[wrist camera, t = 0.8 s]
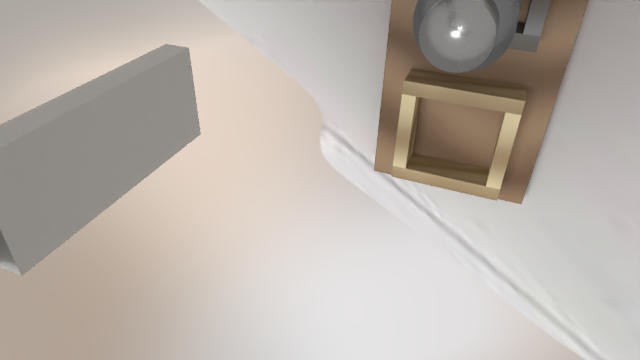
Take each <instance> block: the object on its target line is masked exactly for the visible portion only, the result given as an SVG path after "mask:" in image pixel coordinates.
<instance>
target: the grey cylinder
mask: <svg viewBox="0 0 640 360" xmlns="http://www.w3.org/2000/svg"><path fill="white" fill-rule="evenodd" d="M521 2H522V0H418V2H417V4H416V7H415V10H414V15H413V32H414V37H415V40H416V43H417V45H418V47H419V49H420V50H421V52H422V53H423V54H424V56H425V57H426V59H427V60H428V61H429V62H430V63H431V64H432V65H434V66H435V67H436V68H438V69H440V70H443V71H446V72H452V73H460V72H470V71H475V70H479V69H482V68H484V67H486V66H488V65H490V64H492V63H493V62H495V61H496V60H497V59H498V58H500V57H501V56H502V55H503V54H504V52H505V51H506V50H507V49H508V47H509V46H510V44H511V42H512V40H513V38H514V35H515V32H516V28H517V23H518V18H519V12H520V7H521Z"/></svg>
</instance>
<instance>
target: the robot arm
mask: <svg viewBox="0 0 640 360" xmlns="http://www.w3.org/2000/svg"><path fill="white" fill-rule="evenodd" d="M199 135H200V127H199V119H198V112H197V104H196V97H195V90H194V83H193V75H192V68H191V60H190V53H189V48H186V47H180V46H174V45H168V44H166V45H164V46H161V47H159V48H157V49H155V50H153V51H151V52H149V53H147V54H145V55H143V56H141V57H139V58H137V59H135V60H133V61H130V62H129V63H126V64H124V65H122V66H120V67H118V68H116V69H114V70H112V71H110V72H108V73H106V74H104V75H102V76H100V77H98V78H96V79H93V80H92V81H90V82H87V83H86V84H83V85H81V86H79V87H77V88H75V89H73V90H71V91H69V92H67V93H65V94H63V95H61V96H59V97H57V98H55V99H52V100H50V101H49V102H46V103H44V104H42V105H40V106H38V107H36V108H34V109H32V110H30V111H28V112H26V113H24V114H22V115H20V116H18V117H16V118H13V119H12V120H9V121H8V122H5V123H3V124H1V125H0V268H2V269H5V270H8V271H10V272H13V273H15V274H18V275H21V276H22V275H23V274H25V273H26V272H27V271H29V270H30V269H31V268H32V267H33V266H35V265H36V264H37V263H39V262H40V261H41V260H42V259H44V258H45V257H46V256H47V255H49V254H50V253H51V252H52V251H53V250H55V249H56V248H57V247H59V246H60V245H61V244H63V243H64V242H65V241H66V240H68V239H69V238H70V237H71V236H73V235H74V234H75V233H76V232H78V231H79V230H80V229H81V228H83V227H84V226H85V225H87V224H88V223H89V222H90V221H92V220H93V219H94V218H95V217H97V216H98V215H99V214H100V213H102V212H103V211H104V210H105V209H107V208H108V207H109V206H110V205H112V204H113V203H114V202H115V201H117V200H118V199H119V198H121V197H122V196H123V195H124V194H126V193H127V192H128V191H129V190H131V189H132V188H133V187H134V186H136V185H137V184H138V183H139V182H141V181H142V180H143V179H144V178H146V177H147V176H148V175H149V174H151V173H152V172H153V171H154V170H156V169H157V168H158V167H159V166H161V165H162V164H163V163H165V162H166V161H167V160H168V159H170V158H171V157H172V156H173V155H175V154H176V153H177V152H179V151H180V150H181V149H182V148H184V147H185V146H186V145H187V144H189V143H190V142H191V141H192V140H194V139H195V138H196V137H197V136H199Z"/></svg>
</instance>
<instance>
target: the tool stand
mask: <svg viewBox="0 0 640 360" xmlns="http://www.w3.org/2000/svg"><path fill="white" fill-rule="evenodd" d="M417 2H418V0H392V5H391V14H390V24H389V33H388V43H387V52H386V62H385V71H384V81H383V91H382V100H381V110H380V119H379V129H378V138H377V148H376V157H375V167H374V171H378V172H383V173H387V174H391V176H392V177H397V178H401V179H405V180H410V181H414V182H418V183H423V184H427V185H431V186H436V187H440V188H444V189H449V190H453V191H457V192H462V193H466V194H471V195H475V196H479V197H484V198H488V199H492V200H497V199H501V200H505V201H509V202H514V203H518V204H522V201H523V198H524V195H525V192H526V189H527V186H528V183H529V180H530V177H531V174H532V171H533V168H534V164H535V161H536V158H537V155H538V152H539V149H540V146H541V143H542V140H543V137H544V134H545V131H546V128H547V125H548V122H549V119H550V116H551V113H552V109H553V106H554V103H555V100H556V97H557V94H558V91H559V88H560V85H561V82H562V79H563V76H564V73H565V70H566V67H567V64H568V61H569V58H570V55H571V51H572V48H573V45H574V42H575V39H576V36H577V33H578V30H579V27H580V24H581V21H582V18H583V15H584V12H585V9H586V6H587V3H588V0H522V2H521V7H520V12H519V18H518V23H517V28H516V32H515V35H514V38H513V40H512V42H511V44H510V46H509V47H508V49H507V50H506V51H505V52H504V54H503V55H502V56H501V57H500V58H498V59H497V60H496V61H495V62H493V63H492V64H490V65H488V66H486V67H484V68H482V69H479V70H475V71H470V72H460V73H452V72H446V71H443V70H440V69H438V68H436V67H435V66H434V65H432V64H431V63H430V62H429V61H428V60H427V59H426V57H425V56H424V54H423V53H422V52H421V50H420V49H419V47H418V45H417V43H416V40H415V37H414V32H413V15H414V10H415V7H416V4H417Z"/></svg>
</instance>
